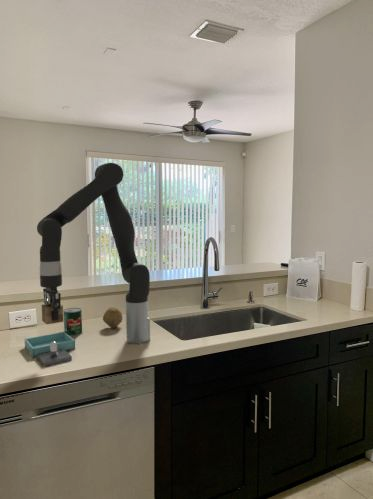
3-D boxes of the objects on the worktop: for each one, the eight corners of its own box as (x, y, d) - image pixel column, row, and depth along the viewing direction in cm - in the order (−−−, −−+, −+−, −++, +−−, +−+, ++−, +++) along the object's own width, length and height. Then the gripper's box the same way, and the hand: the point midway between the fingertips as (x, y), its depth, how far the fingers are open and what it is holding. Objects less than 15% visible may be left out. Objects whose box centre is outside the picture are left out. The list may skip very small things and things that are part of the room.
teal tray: (64, 339, 159) (64, 331, 158) (75, 348, 147) (74, 340, 147) (24, 347, 149) (24, 339, 149) (33, 357, 138) (32, 348, 138)
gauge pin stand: (63, 352, 144) (62, 335, 143) (71, 360, 135) (71, 342, 135) (36, 358, 138) (35, 340, 137) (43, 366, 130) (43, 348, 129)
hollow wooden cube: (58, 318, 139) (57, 302, 139) (63, 321, 135) (62, 305, 134) (42, 320, 136) (41, 304, 135) (46, 324, 131) (45, 308, 131)
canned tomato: (74, 329, 172) (73, 306, 171) (86, 332, 168) (85, 308, 167) (60, 334, 166) (59, 310, 165) (72, 337, 162) (71, 312, 161)
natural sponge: (99, 329, 172) (98, 309, 171) (108, 324, 181) (108, 304, 180) (116, 331, 169) (116, 310, 169) (125, 325, 178) (125, 305, 177)
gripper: (67, 274, 130) (68, 320, 132) (55, 270, 142) (57, 312, 143) (45, 276, 126) (47, 324, 127) (35, 271, 137) (37, 315, 139)
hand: (52, 318), depth 135 cm, fingers closed on hollow wooden cube, 6 cm apart
